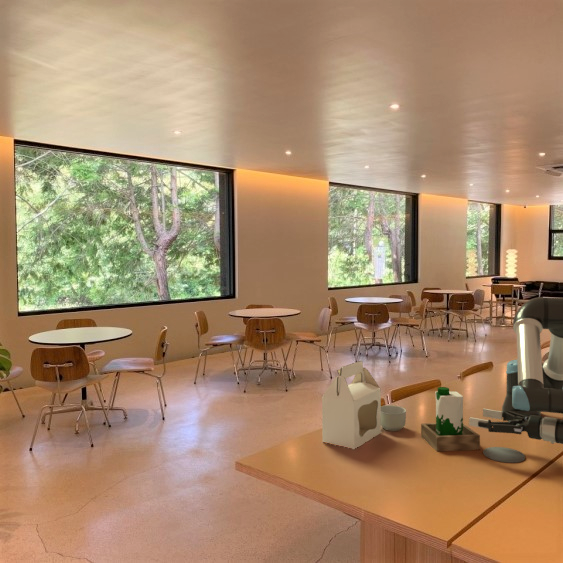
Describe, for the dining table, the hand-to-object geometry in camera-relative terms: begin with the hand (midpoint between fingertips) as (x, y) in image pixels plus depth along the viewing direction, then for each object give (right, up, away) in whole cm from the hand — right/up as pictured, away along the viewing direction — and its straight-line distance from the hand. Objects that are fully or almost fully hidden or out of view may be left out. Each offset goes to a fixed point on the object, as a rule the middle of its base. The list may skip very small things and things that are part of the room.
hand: (476, 416), depth 181 cm
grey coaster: (+7, -11, -6) cm, 15 cm away
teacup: (-26, -11, +24) cm, 37 cm away
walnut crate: (-7, -11, +7) cm, 15 cm away
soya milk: (-7, -11, +7) cm, 15 cm away
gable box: (-41, -12, +14) cm, 45 cm away
